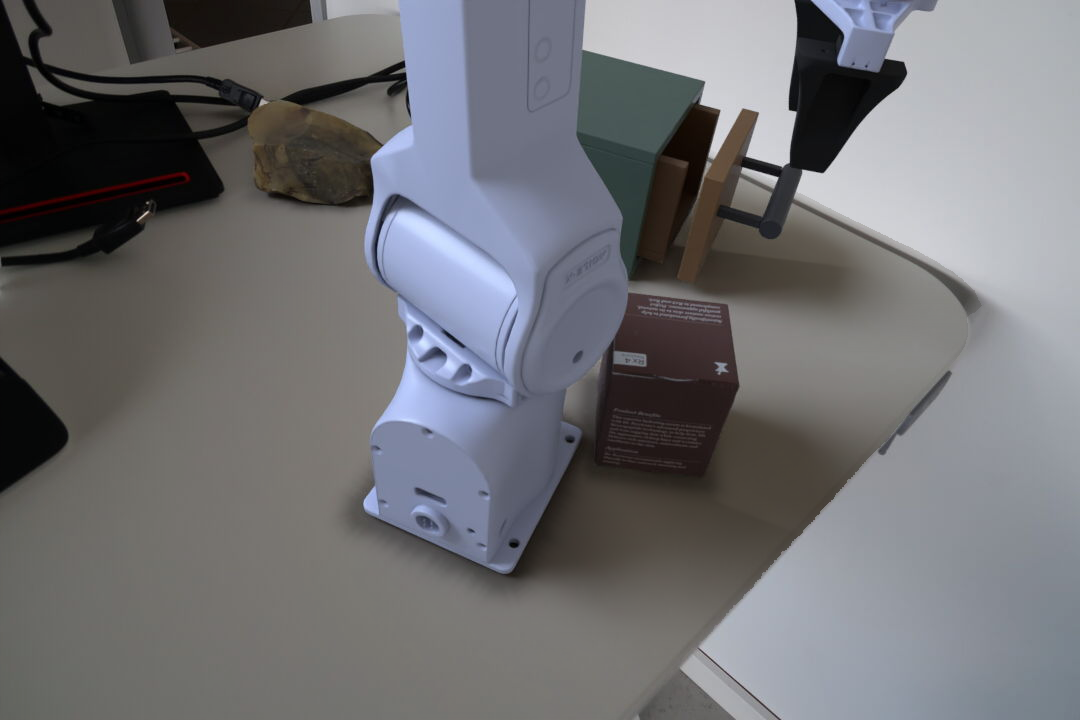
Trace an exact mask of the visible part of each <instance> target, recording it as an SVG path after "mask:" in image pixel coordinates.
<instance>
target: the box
mask: <svg viewBox="0 0 1080 720" xmlns="http://www.w3.org/2000/svg"><path fill="white" fill-rule="evenodd" d="M731 323H732V322H731V315H730V310H729V304H728V303H720V302H712V301H704V300H695V299H694V300H693V299H687V298H679V297H678V298H677V297H669V296H660V295H652V294H645V293H636V292H628V301H627V307H626V311H625V314H624V317H623V320H622V322H621V325H620V327H619V329H618V331H617V333H616V335H615V337H614V339H613V340H612V342H611V344H610V345H609V347H608V348H607V350H606V351H605V353H604V354H603V355H602V357H601V362H600V367H599V372H598V377H597V382H596V399H595V429H594V433H595V434H594V453H593V454H594V455H593V456H594V457H593V459H594V460H593V461H594V465H595V466H599V467H608V468H609V467H610V468H618V469H626V470H627V469H628V470H634V471H635V470H636V471H645V472H654V473H662V474H670V475H679V476H686V477H687V476H688V477H696V478H697V477H698V478H704V477H706V474H707V472H708V469H709V467H710V464H711V461H712V459H713V456H714V453H715V451H716V449H717V445H718V443H719V440H720V437H721V435H722V433H723V429H724V427H725V424H726V421H727V419H728V417H729V414H730V413H731V410H732V408H733V406H734V403H735V399H736V396H737V393H738V391H739V389H740V388H741V385H740V380H739V373H738V372H739V371H738V366H737V360H736V352H735V346H734V345H735V344H734V338H733V337H734V336H733V329H732V324H731Z"/></svg>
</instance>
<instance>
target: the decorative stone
mask: <svg viewBox="0 0 1080 720" xmlns="http://www.w3.org/2000/svg"><path fill="white" fill-rule="evenodd" d="M246 127H247V132H248V133H249V137H250V138H251V139H252V146H251V149H252V152H253V155H254V159H253V168H252V175H253V176H252V177H253V178H252V179H253V183H254V186H255V187H256V189H257V190H259V191H260V192H261V191H262V192H265V193H273V194H281V195H286V196H290V197H293V198H295V199H297V200H299V201H302V202H307V203H314V204H323V205H339V204H344V203H346V202H349V201H350V200H353V199H355V198H358V197H362V198H368V197H369V196H370V194H371V192H372V191H373V190H374V181H373V174H372V168H371V158H372V156H373V155H374V154H375V153H376V152H377V151H378V150H380V149H381V148H382V147H383V146H384V145H385V144H383V143H381V142H380V140H378V139H376V138H375V137H374V135H372V134H371V133H370V132H369V131H368V130H365V129H362V128H361V127H359V126H356V125H355V124H353V123H351V122H349V121H348V120H345V119H343V118H340V117H338V116H335V115H333V114H330V113H326V112H325V111H321V110H317V109H313V108H310V107H308V106H303V105H300V104H297V103H295V102H291V101H288V100H283V99H279V98H277V99H274V100H272V101H269V102H267V103H264V104H261V105H259V106H257V107H256V108H255V109H254V110H253V111H252V112H251V114H250V115H249V117H247V126H246Z"/></svg>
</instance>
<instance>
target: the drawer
mask: <svg viewBox="0 0 1080 720" xmlns="http://www.w3.org/2000/svg"><path fill="white" fill-rule="evenodd" d="M720 115H721V109H719V108H715V107H711V106H708V105H704V104H701V103H700V104H697V103H695V104H694V106H693V107H692V109H691V110H690V112H689V113H688V115H687V116H686V118H685V119H684V121H683V122H682V124H681V125H680V127H679V128H678V130H677V131H676V133H675V134H674V136H673V137H672V139H671V140H670V142H669V143H668V145H667V146H666V148H665V149H664V151H663V152H662V154H661V155H660V157H659V158H658V160H657V165H656V170H655V174H654V179H653V184H652V188H651V193H650V198H649V202H648V207H647V212H646V216H645V221H644V226H643V230H642V235H641V240H640V244H639V249H638V254H637V256H641V257H643V259H646V260H650V261H653V262H656V263H660V264H663V263H664V262H665V259H666V258H667V255H668V254H669V252H670V250H671V248H672V246H673V245H674V243H675V242H676V240H677V237H678V236H679V233H680V232H681V230H682V228H683V227H684V224H685V223H686V221H687V219H688V217H689V215H690V213H691V212H692V209H693V207H694V206H695V205H696V208H695V211H694V214H693V219H692V222H691V226H690V229H689V233H688V236H687V241H686V244H685V247H684V248H685V249H684V252H683V255H682V259H681V262H680V267H679V270H678V274H677V280H680V281H683V282H686V283H689V284H693V285H694V284H696V282H697V280H698V277H699V275H700V274H701V270H702V269H703V267H704V264H705V262H706V260H707V258H708V256H709V253H710V251H711V250H712V247H713V245H714V242H715V240H716V239H717V236H718V234H719V232H720V230H721V228H722V226H723V224H724V222H725V220H727V221H731V222H734V223H736V224H741V225H744V226H747V227H750V228H754V229H758V234H759V235H760V236H761V237H762V238H764V239H765V240H775V239H778V238H779V237H780V236H781V234H782V231H783V229H784V226H785V223H786V221H787V218H788V215H789V212H790V209H791V207H792V204H793V201H794V198H795V196H796V192H797V190H798V187H799V183H800V181H801V178H802V176H803V170H801V169H796V168H791V167H790V162H788V163H786V164H785V165H783V166H782V165H778V164H775V163H771V162H768V161H763V160H760V159H756V158H753V157H749V156H747V154H748V150H749V148H750V144H751V141H752V138H753V135H754V132H755V128H756V125H757V121H758V119H759V115H760V112H759V111H755V110H752V109H747V108H741V110H740V112H739V113H738V116H737V117H736V119H735V121H734V123H733V124H732V126H731V128H730V130H729V132H728V133H727V135H726V137H725V139H724V141H723V142H722V144H721V146H720V148H719V149H718V152H717V154H716V156H715V157H714V158H713V161H712V163H711V164H710V166H709V168H708V170H707V171H706V174H705V170H706V168H707V163H708V160H709V155H710V152H711V149H712V144H713V141H714V137H715V134H716V129H717V126H718V123H719V122H718V121H719V119H720ZM743 169H747V170H751V171H754V172H757V173H760V174H765V175H769V176H771V177H775V178H777V180H776V183H775V185H774V187H773V190H772V193H771V195H770V197H769V199H768V203H767V205H766V207H765V209H764V212H763V215H762V216H761V215H758V214H754V213H752V212H748V211H745V210H741V209H738V208H735V207H733V206H732V203H733V200H734V196H735V194H736V190H737V186H738V184H739V180H740V177H741V173H742V170H743ZM731 206H732V207H731Z"/></svg>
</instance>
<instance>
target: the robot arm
mask: <svg viewBox="0 0 1080 720" xmlns="http://www.w3.org/2000/svg"><path fill="white" fill-rule="evenodd" d="M793 1H794V8H795V14H796V38H795V48H794V50H795V51H794V56H793V63H792V70H791V75H790V82H789V90H788V111H790V112H795V118H794V119H795V120H794V123H793V129H792V134H791V139H790V145H789V163H790V167H791V168H796V169H801V170H802V171H806V172H807V171H808V172H812V173H818V174H824V173H825V172H826V171H827V170H828V169H829V168H830V166H831V165H832V163H833V162H834V161H835V159H836V158H837V157H838V155H839V154H840V153H841V151H842V150H843V149H844V146H845V145H846V144H847V143H848V141H849V139H850V138H851V137H852V136H853V134H854V132H855V131H856V130H857V128H858V127H859V126H860V125H861V123H862V122H863V121H864V120H865V118H866V117H867V116H868V115H869V114H870V113H871V112H872V111H873V110H874V109H875V108H876V107H877V106H878V105H880V103H882V102H883V101H884V100H885V99H886V98H887V97H889V96H890V95H891V94H893V93H894V92H895V91H896V90H898V89H899V88H900V87H901V86H902V84H903V83H904V81H905V80H906V78H907V76H908V69H907V67H906V64H905V61H901V60H897V59H896V60H895V59H891V58H886V56H887V54H888V51H889V49H890V47H891V44H892V43H893V39H894V37H895V35H896V34H895V33H896V32H895V31H896V30H897V29H898V28H899V27H900V26H901V25H902V24H903V23H904V21H905V20H906V19H907V18H908V17H909V16H910V14H912V13H913V12H914V11H921V12H933V11H934V10H935V8H936V6H937V4H938V2H939V0H793ZM397 2H398V12H399V20H400V30H401V38H402V46H403V48H402V49H403V56H404V66H405V74H406V82H407V92H408V101H409V110H410V118H411V119H410V120H411V125H409V126H407V127H405V128H403V129H402V130H401V131H399V132H397V133H396V134H395V135H393V136H392V137H391V138H390V139H389V140H388V141H387V142H386V143H385V144H383V145H384V146H383V147H382V148H381V149H380V150H378V151H377V152H376V153H375V154H374V155H373V156H372V158H371V168H372V174H373V181H374V189H373V197H372V198H373V199H372V206H371V210H370V213H369V218H368V221H367V224H366V229H365V235H364V240H363V241H364V243H363V244H364V257H365V260H366V264H367V267H368V269H369V271H370V273H371V274H372V275H373V277H374V278H375V280H376V281H378V282H379V283H380V285H382V286H384V287H386V288H387V289H389V290H390V291H392V292H393V293H397V296H396V298H397V309H398V317H399V318H400V319H401V321H403V322H404V324H405V326H406V327H405V328H406V338H407V339H406V343H407V344H406V345H407V346H406V354H405V355H406V356H405V364H404V368H403V372H402V376H401V379H400V382H399V385H398V387H397V389H396V392H395V394H394V396H393V398H392V400H391V402H389V404H388V406H387V407H386V408H385V410H384V411H383V413H382V415H381V416H380V418H379V419H378V420H377V421H376V423H375V425H374V426H373V428H372V431H371V432H370V436H369V448H370V458H371V463H372V471H373V479H374V480H373V481H374V486H373V487H372V489H371V490H370V491H369V493H368V494H367V496H365V498H364V500H363V510H364V512H365V513H367V514H368V515H370V516H371V517H374V518H377V519H379V520H381V521H383V522H385V523H387V524H390V525H392V526H394V527H397V528H399V529H401V530H403V531H405V532H407V533H410V534H412V535H415V536H416V537H419V538H420V539H423V540H426V541H428V542H430V543H432V544H434V545H436V546H438V547H441V548H443V549H446V550H447V551H450V552H452V553H453V554H456V555H459V556H461V557H463V558H465V559H468V560H470V561H472V562H474V563H477V564H479V565H481V566H483V567H485V568H488V569H490V570H492V571H494V572H497V573H498V574H502V575H506V574H510V573H512V572H513V570H514V569H515V568H516V566H517V564H518V562H519V560H520V559H521V557H522V554H523V553H524V550H525V548H526V547H527V545H528V543H529V541H530V539H531V538H532V535H533V533H534V531H535V530H536V527H537V525H538V524H539V522H540V520H541V518H542V516H543V515H544V512H545V511H546V508H547V507H548V505H549V502H550V501H551V499H552V497H553V495H554V494H555V491H556V490H557V487H558V485H559V484H560V482H561V480H562V478H563V477H564V474H565V472H566V470H567V468H568V466H570V465H569V464H570V463H571V461H572V459H573V457H574V455H575V453H576V451H577V449H578V448H579V446H580V444H581V442H582V439H583V435H584V434H583V431H582V429H581V428H580V427H579V426H576V425H573V424H571V423H569V422H566V421H563V414H564V407H565V401H566V395H567V389H568V388H569V387H571V386H573V385H574V384H576V383H577V382H578V381H580V380H581V379H582V378H583V377H584V376H586V375H587V374H588V372H589V371H591V370H592V369H593V367H594V366H595V365H596V364H597V363H598V362H599V361H600V359H602V357H603V354H604V353H605V351H606V350H607V348H608V347H609V345H610V344H611V342H612V340H613V339H614V337H615V335H616V333H617V331H618V329H619V327H620V325H621V322H622V320H623V317H624V314H625V311H626V307H627V301H628V293H629V280H628V275H627V269H626V267H625V265H624V262H623V260H622V258H621V254H620V236H621V228H622V221H623V217H622V214H621V212H620V210H619V208H618V206H617V204H616V203H615V201H614V199H613V198H612V196H611V194H610V192H609V191H608V189H607V187H606V186H605V184H604V182H603V181H602V179H601V178H600V176H599V175H598V173H597V171H596V170H595V168H594V167H593V165H592V163H591V162H590V160H589V159H588V157H587V155H586V154H585V152H584V150H583V148H582V147H581V145H580V143H579V141H578V138H577V135H576V131H577V117H578V103H579V89H580V75H581V61H582V50H583V47H584V31H585V18H586V17H585V16H586V6H587V5H586V2H587V0H397ZM568 441H572V442H568ZM513 543H515V544H517V545H518V546H517V547H511V546H510V544H513Z"/></svg>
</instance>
